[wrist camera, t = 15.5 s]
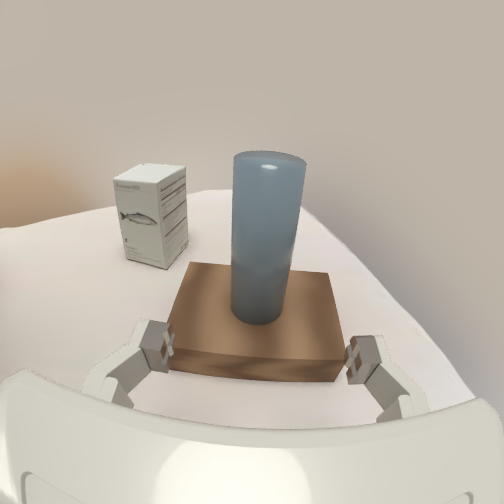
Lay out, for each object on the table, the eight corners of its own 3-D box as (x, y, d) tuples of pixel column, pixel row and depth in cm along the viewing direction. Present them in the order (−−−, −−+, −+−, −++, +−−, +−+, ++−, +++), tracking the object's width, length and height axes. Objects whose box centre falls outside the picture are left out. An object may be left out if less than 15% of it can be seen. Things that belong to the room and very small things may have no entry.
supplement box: (125, 260, 37) (110, 178, 30) (151, 235, 43) (143, 161, 36) (167, 271, 35) (156, 182, 28) (190, 243, 41) (187, 164, 34)
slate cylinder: (227, 322, 24) (229, 166, 16) (233, 286, 28) (237, 148, 20) (283, 326, 24) (311, 173, 16) (281, 289, 28) (302, 154, 20)
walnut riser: (167, 368, 23) (159, 344, 21) (192, 287, 33) (190, 261, 31) (333, 381, 23) (347, 359, 21) (320, 297, 33) (327, 273, 31)
